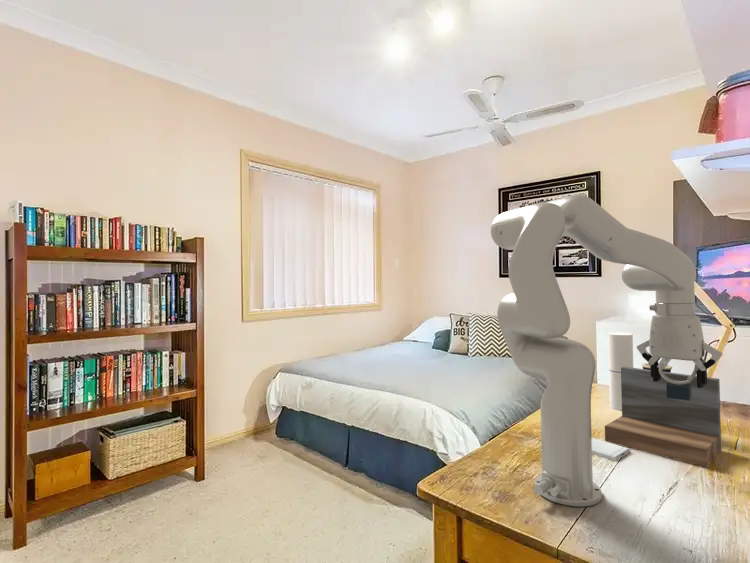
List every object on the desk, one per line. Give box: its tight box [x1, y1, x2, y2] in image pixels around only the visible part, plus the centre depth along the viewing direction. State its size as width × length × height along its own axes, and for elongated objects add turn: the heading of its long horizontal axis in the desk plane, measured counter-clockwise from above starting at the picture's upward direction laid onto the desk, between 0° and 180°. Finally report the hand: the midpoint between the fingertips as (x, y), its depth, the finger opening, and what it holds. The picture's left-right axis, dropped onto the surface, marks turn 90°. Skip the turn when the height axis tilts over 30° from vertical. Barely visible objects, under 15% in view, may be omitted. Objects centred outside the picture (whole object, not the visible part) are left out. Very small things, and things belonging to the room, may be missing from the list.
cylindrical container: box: [607, 331, 634, 412], centre depth 141 cm, size 7×7×25 cm
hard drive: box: [592, 437, 631, 462], centre depth 108 cm, size 2×8×12 cm
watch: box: [657, 357, 698, 401], centre depth 99 cm, size 6×8×11 cm
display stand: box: [604, 367, 722, 468], centre depth 109 cm, size 14×22×18 cm, turn 40°
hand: (678, 383), depth 99 cm, fingers closed on watch, 8 cm apart
